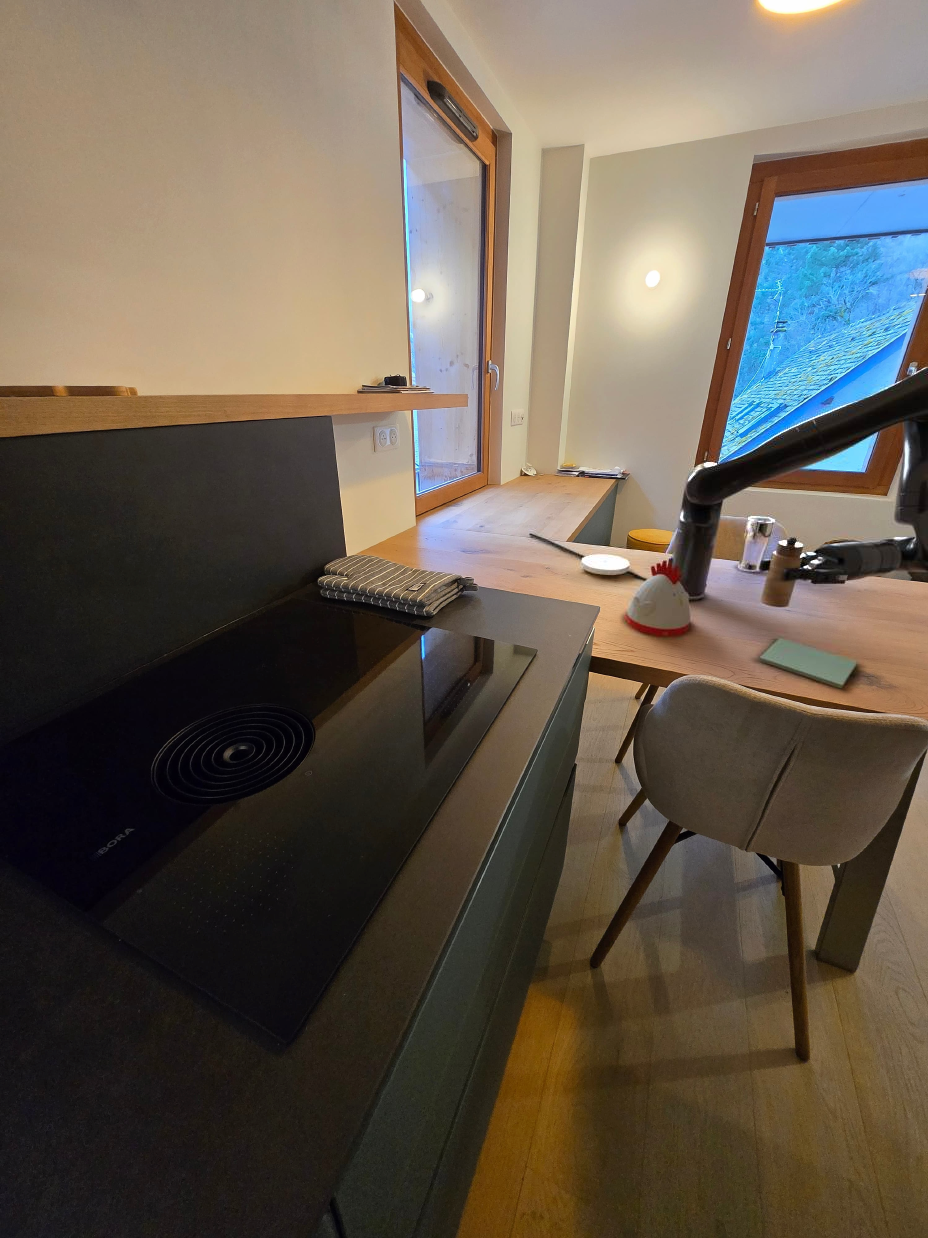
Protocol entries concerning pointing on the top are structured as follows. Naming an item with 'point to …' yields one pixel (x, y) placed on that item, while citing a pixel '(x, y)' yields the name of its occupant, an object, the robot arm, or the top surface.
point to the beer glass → (755, 542)
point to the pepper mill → (782, 558)
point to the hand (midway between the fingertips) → (772, 570)
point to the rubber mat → (809, 662)
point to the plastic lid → (605, 564)
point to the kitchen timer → (660, 603)
